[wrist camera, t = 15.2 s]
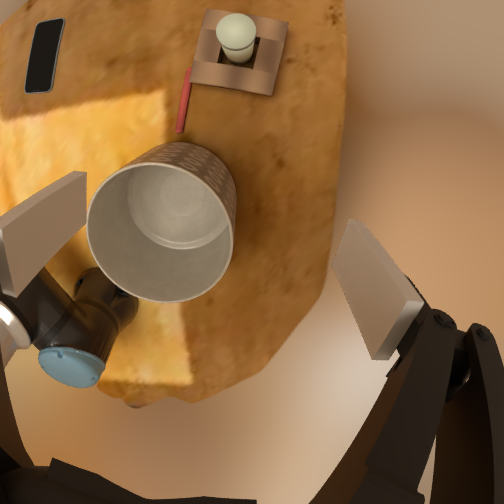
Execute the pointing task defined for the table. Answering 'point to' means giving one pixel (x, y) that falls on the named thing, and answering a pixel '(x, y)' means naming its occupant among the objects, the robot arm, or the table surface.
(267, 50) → the square wooden socket block
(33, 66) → the smartphone
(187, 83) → the red rod
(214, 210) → the planter
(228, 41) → the banded green cylinder
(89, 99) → the table surface
